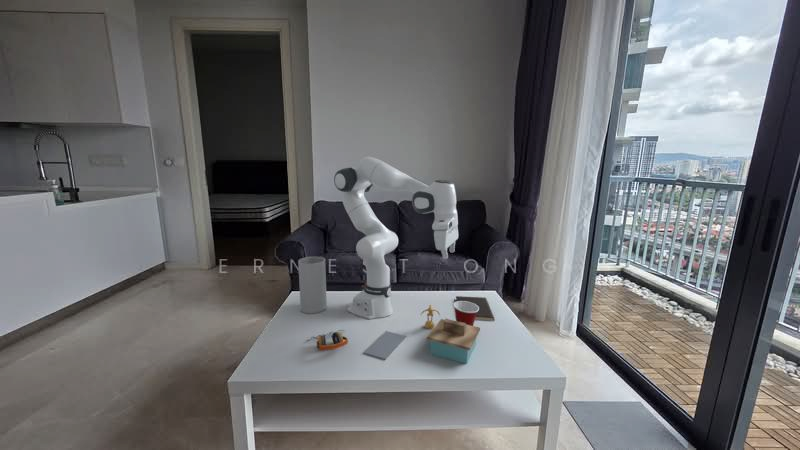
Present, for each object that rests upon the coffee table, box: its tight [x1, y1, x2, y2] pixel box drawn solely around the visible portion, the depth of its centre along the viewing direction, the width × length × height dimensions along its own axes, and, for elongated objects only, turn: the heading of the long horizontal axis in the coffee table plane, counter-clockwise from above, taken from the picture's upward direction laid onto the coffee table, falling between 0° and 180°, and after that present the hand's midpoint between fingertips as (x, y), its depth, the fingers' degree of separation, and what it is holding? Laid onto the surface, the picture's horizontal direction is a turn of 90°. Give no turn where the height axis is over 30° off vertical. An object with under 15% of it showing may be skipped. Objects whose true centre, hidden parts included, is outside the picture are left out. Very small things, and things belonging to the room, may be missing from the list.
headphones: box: [305, 329, 349, 351], centre depth 128 cm, size 17×5×20 cm
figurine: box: [420, 304, 441, 330], centre depth 139 cm, size 8×6×12 cm
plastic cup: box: [453, 300, 479, 326], centre depth 138 cm, size 11×11×12 cm
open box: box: [429, 338, 477, 365], centre depth 124 cm, size 14×14×7 cm
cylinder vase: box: [297, 256, 328, 315], centre depth 158 cm, size 12×12×25 cm
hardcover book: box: [455, 295, 495, 322], centre depth 162 cm, size 16×23×2 cm
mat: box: [363, 330, 407, 361], centre depth 126 cm, size 20×18×1 cm
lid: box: [426, 318, 481, 350], centre depth 123 cm, size 16×16×5 cm
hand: (449, 255), depth 129 cm, fingers open, 8 cm apart
